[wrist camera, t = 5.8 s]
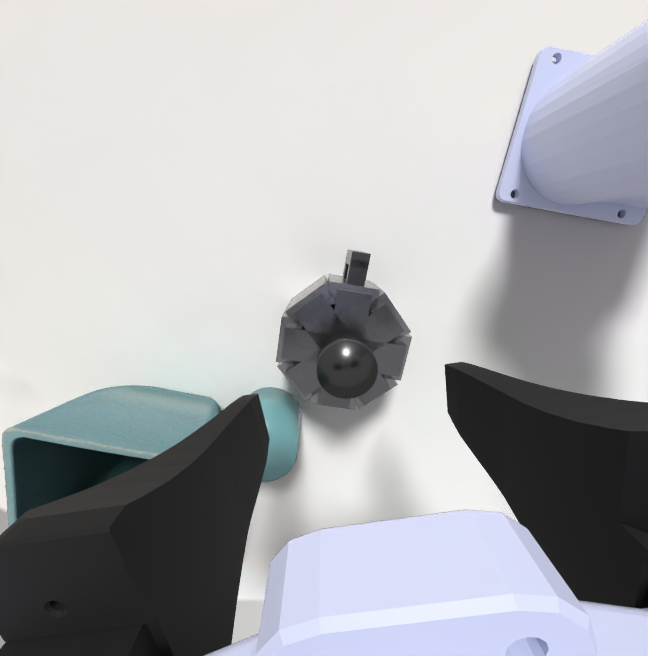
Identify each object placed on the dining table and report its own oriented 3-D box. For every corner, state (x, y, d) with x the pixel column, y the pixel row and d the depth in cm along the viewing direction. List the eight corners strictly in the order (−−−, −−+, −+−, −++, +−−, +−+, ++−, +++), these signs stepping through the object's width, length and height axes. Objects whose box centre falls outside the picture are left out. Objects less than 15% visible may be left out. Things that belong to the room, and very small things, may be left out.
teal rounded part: (305, 391, 23) (301, 425, 19) (296, 443, 24) (291, 486, 20) (244, 383, 23) (226, 415, 19) (239, 435, 24) (221, 476, 20)
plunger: (366, 316, 20) (384, 347, 15) (357, 358, 21) (371, 402, 15) (322, 309, 20) (322, 337, 14) (315, 351, 21) (312, 394, 15)
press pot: (410, 260, 20) (433, 264, 16) (380, 386, 23) (393, 419, 19) (297, 240, 20) (290, 240, 16) (279, 371, 22) (269, 401, 18)
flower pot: (123, 355, 22) (-4, 428, 14) (243, 378, 23) (195, 462, 14) (119, 455, 24) (9, 572, 16) (229, 474, 25) (179, 597, 16)
